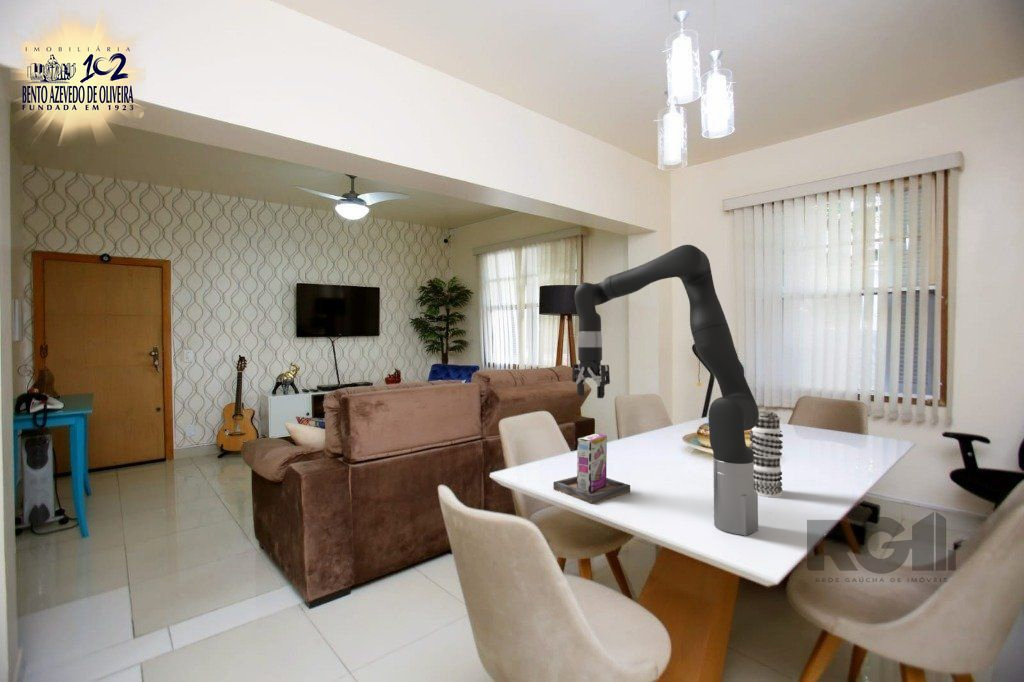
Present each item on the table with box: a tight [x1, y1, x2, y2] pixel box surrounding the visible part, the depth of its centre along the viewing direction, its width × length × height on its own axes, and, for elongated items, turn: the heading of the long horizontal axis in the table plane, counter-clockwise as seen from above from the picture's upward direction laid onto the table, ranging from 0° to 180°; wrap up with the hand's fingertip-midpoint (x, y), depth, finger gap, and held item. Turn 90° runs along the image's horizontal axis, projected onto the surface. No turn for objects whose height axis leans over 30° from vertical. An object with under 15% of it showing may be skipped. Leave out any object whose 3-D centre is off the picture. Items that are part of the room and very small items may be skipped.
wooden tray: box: [553, 476, 631, 505], centre depth 145 cm, size 17×17×2 cm
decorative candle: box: [748, 410, 784, 498], centre depth 142 cm, size 9×9×25 cm
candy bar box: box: [576, 433, 608, 494], centre depth 145 cm, size 11×5×16 cm, turn 142°
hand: (590, 396), depth 145 cm, fingers open, 8 cm apart
